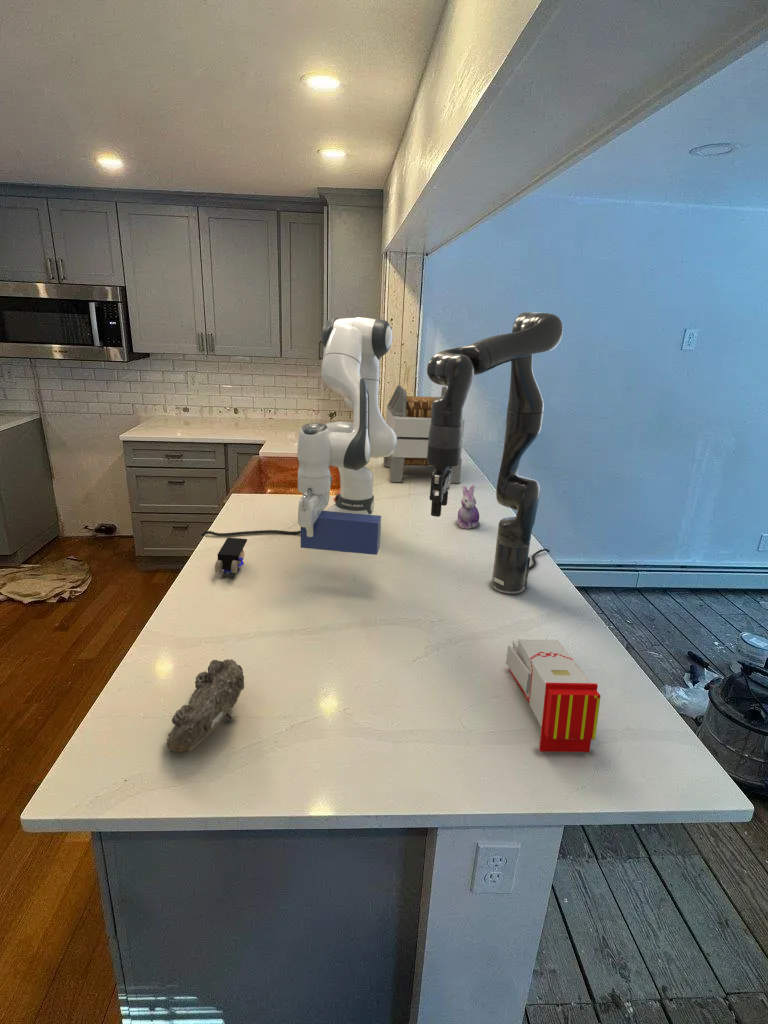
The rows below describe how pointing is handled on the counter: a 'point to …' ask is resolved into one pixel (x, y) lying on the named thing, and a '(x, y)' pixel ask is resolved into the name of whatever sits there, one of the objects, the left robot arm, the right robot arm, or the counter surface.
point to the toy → (556, 694)
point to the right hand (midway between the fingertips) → (439, 510)
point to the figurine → (468, 510)
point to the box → (344, 533)
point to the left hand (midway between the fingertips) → (314, 531)
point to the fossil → (206, 705)
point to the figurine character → (230, 556)
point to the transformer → (412, 433)
